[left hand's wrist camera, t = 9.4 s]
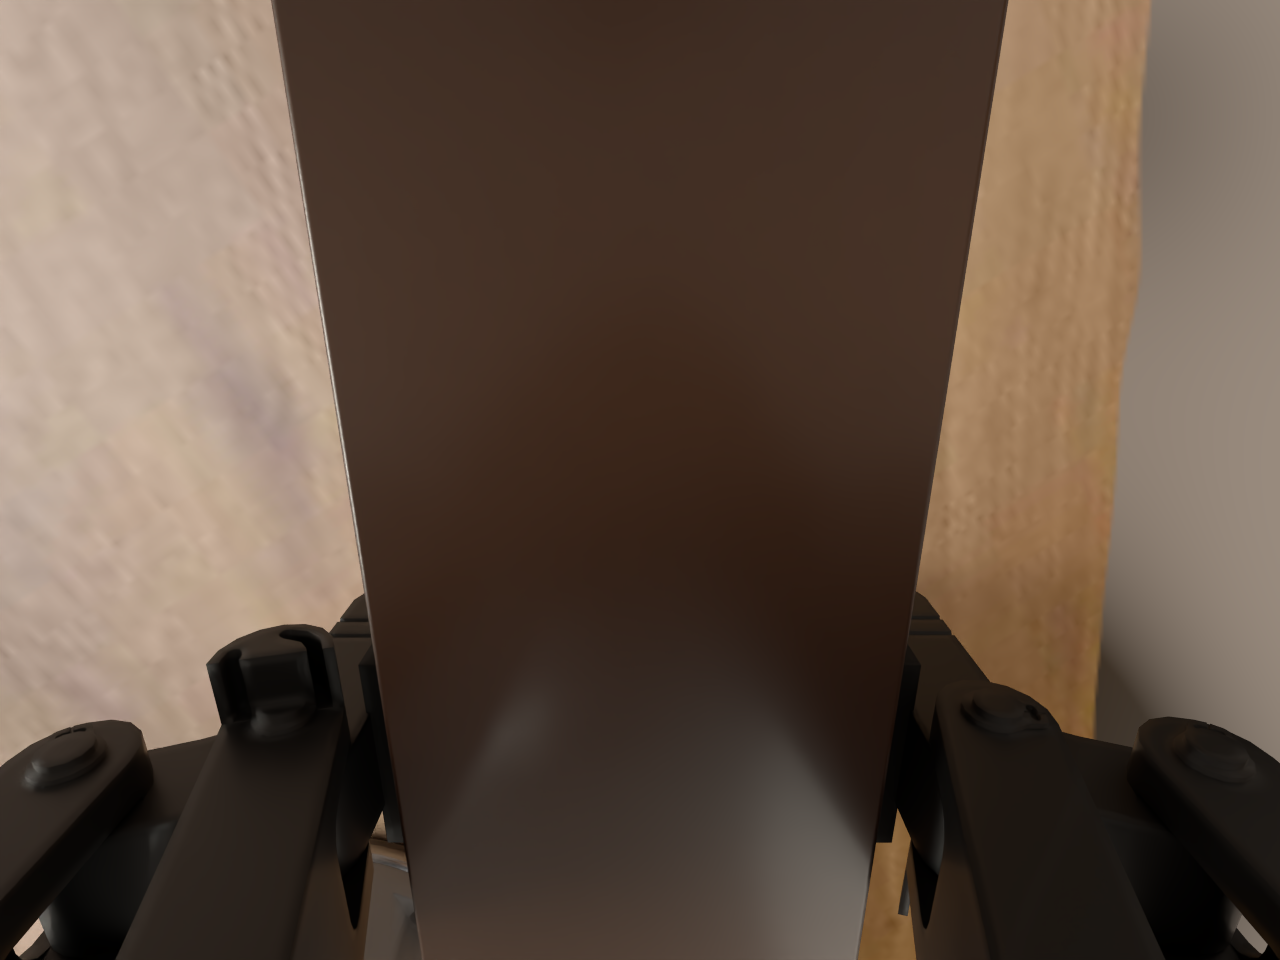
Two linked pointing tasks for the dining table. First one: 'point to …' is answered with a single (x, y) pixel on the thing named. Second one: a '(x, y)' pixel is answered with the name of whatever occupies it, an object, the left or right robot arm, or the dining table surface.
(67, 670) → the dining table surface
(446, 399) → the bar
